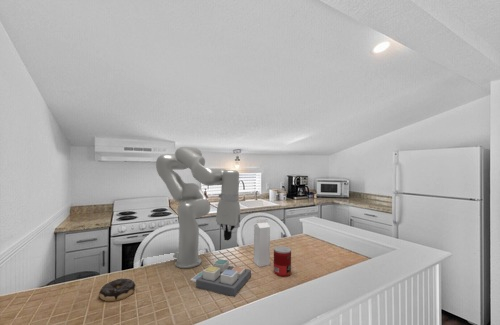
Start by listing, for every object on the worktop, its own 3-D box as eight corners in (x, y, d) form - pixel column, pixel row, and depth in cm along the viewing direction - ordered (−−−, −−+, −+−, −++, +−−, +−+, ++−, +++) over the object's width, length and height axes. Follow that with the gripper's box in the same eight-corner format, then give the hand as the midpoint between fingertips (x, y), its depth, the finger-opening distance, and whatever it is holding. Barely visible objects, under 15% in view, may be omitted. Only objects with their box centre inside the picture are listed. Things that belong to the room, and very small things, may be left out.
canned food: (290, 277, 99) (291, 252, 100) (272, 276, 101) (272, 251, 101) (291, 270, 107) (291, 246, 107) (274, 268, 109) (274, 245, 109)
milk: (253, 262, 115) (253, 219, 116) (264, 260, 118) (264, 218, 119) (259, 267, 110) (259, 221, 111) (270, 265, 113) (270, 220, 113)
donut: (112, 286, 91) (112, 276, 91) (141, 287, 91) (141, 277, 91) (92, 302, 80) (92, 291, 80) (125, 303, 80) (125, 292, 80)
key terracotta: (229, 279, 96) (229, 270, 96) (234, 274, 101) (234, 266, 101) (240, 281, 94) (240, 272, 94) (245, 276, 99) (245, 268, 99)
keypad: (195, 287, 90) (196, 279, 91) (217, 270, 106) (217, 263, 106) (234, 296, 84) (234, 288, 84) (250, 276, 100) (250, 269, 100)
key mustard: (203, 278, 92) (203, 270, 92) (209, 273, 96) (209, 265, 96) (213, 281, 90) (214, 272, 90) (220, 275, 94) (220, 267, 95)
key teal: (213, 270, 99) (213, 262, 99) (218, 266, 104) (219, 258, 104) (223, 272, 97) (223, 264, 97) (228, 268, 102) (228, 260, 102)
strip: (190, 281, 96) (190, 279, 96) (204, 270, 106) (204, 268, 106) (197, 282, 94) (197, 280, 94) (211, 271, 105) (211, 269, 105)
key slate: (220, 282, 89) (220, 273, 89) (226, 277, 93) (226, 268, 93) (232, 285, 87) (232, 276, 87) (237, 279, 92) (237, 270, 92)
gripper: (210, 197, 99) (208, 239, 99) (241, 200, 94) (239, 245, 94) (218, 195, 106) (216, 234, 106) (248, 198, 101) (246, 239, 101)
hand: (227, 239), depth 100 cm, fingers closed
